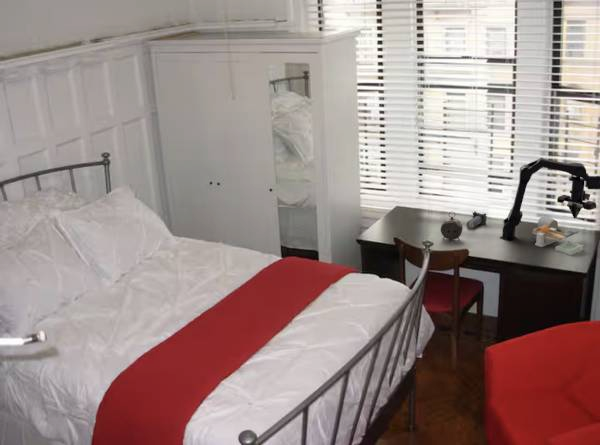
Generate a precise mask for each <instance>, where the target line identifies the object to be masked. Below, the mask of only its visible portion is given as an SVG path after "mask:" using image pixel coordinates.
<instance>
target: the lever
mask: <svg viewBox="0 0 600 445" xmlns="http://www.w3.org/2000/svg"><path fill="white" fill-rule="evenodd" d="M531 231H532V232H531V239H532V240H535V241H536V238H537V233H543V232H542V231H541V227H538V226H537V227H535V228H534V229H532V230H531ZM543 234H544V239H547V238H549V239H552V240H555V242H559V241H562V240H565V239H567V238H569V237H572V236H574V235H576V234H579V230H577V229H571V230H569V231H566V232H560V231H557V230H556V231H555V230H551V229H549V231H548V232H547V233H543Z"/></svg>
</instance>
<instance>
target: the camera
mask: <svg viewBox="0 0 600 445" xmlns="http://www.w3.org/2000/svg"><path fill="white" fill-rule="evenodd" d="M471 214H472V218H471V219H470V220H468V221H467V222H466V225H465V226H466V228H468V230H469V229H470V230H472V229H474V228H475V227H477V226H478V225H484V226H486V224H487V220H488V219H487V218H488V216H487V213H480V212H477V211H472V212H471Z"/></svg>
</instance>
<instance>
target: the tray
mask: <svg viewBox="0 0 600 445" xmlns="http://www.w3.org/2000/svg"><path fill="white" fill-rule="evenodd" d="M554 251H556V252H558V253H561V254H564V255H567V256H571V257H572V256H573V255H577V254H578V253H580V252H583V251H584V244H580V243H577V242H572V241H569V240H567V241H566V242H563V243H561V244H559V245H556V246H555V248H554Z"/></svg>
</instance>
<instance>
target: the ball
mask: <svg viewBox="0 0 600 445" xmlns="http://www.w3.org/2000/svg"><path fill="white" fill-rule="evenodd" d="M541 231H542V232H543V233H547V232H548V231H549V227H548V226H547V225H543V226H542V227H541Z"/></svg>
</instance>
